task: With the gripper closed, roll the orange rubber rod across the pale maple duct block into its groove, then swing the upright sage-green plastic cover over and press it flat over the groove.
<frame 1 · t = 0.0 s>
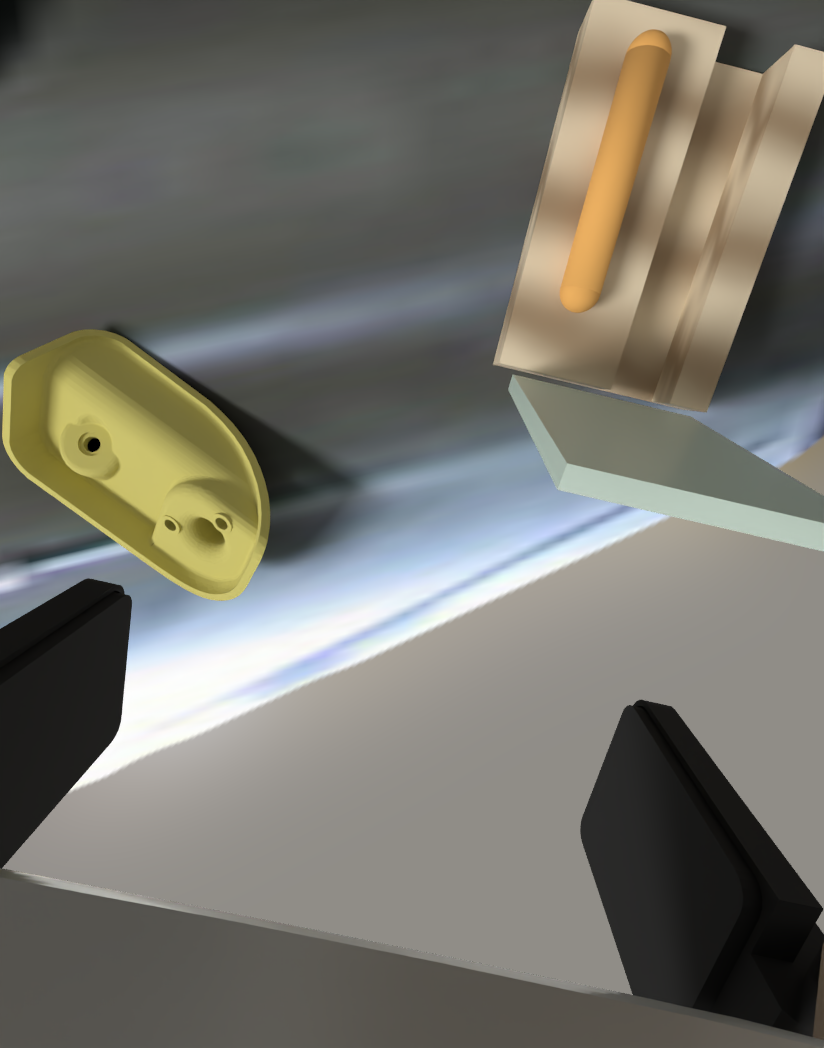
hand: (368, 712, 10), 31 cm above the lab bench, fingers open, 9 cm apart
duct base: (634, 235, 36), on the lab bench
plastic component: (171, 470, 41), on the lab bench
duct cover: (644, 442, 27), point 12 cm above the lab bench, hinge at 100.0°
rod: (605, 188, 32), point 3 cm above the lab bench, touching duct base
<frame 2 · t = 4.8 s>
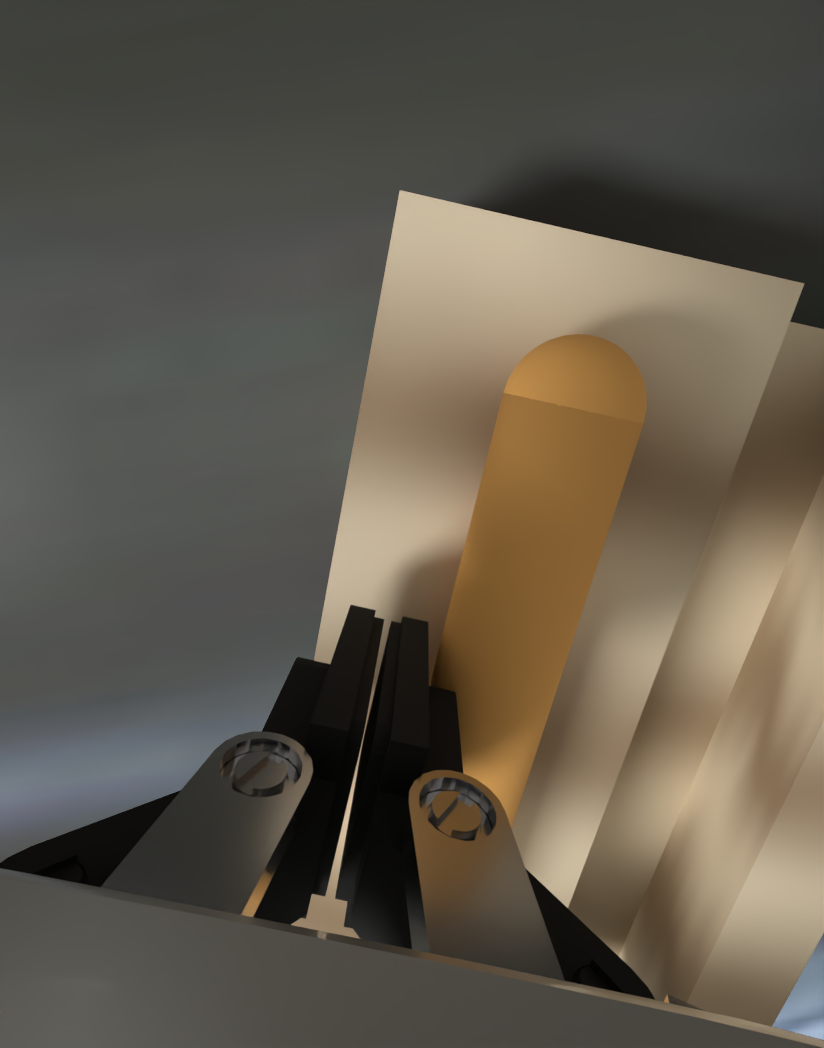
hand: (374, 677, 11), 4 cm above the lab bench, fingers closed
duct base: (570, 661, 16), on the lab bench
rod: (471, 670, 12), point 3 cm above the lab bench, tilted 10°, touching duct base, gripper
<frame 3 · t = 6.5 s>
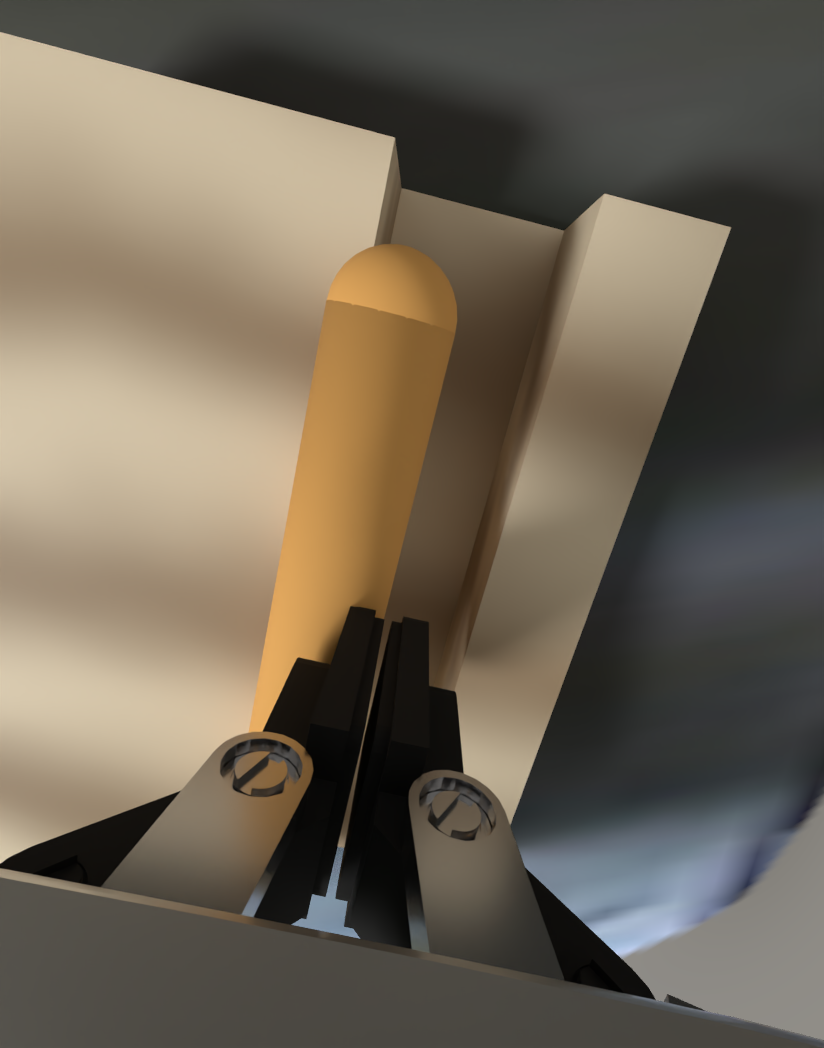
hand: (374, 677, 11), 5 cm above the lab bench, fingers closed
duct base: (310, 560, 16), on the lab bench
rod: (366, 635, 11), point 5 cm above the lab bench, tilted 130°, touching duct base, gripper
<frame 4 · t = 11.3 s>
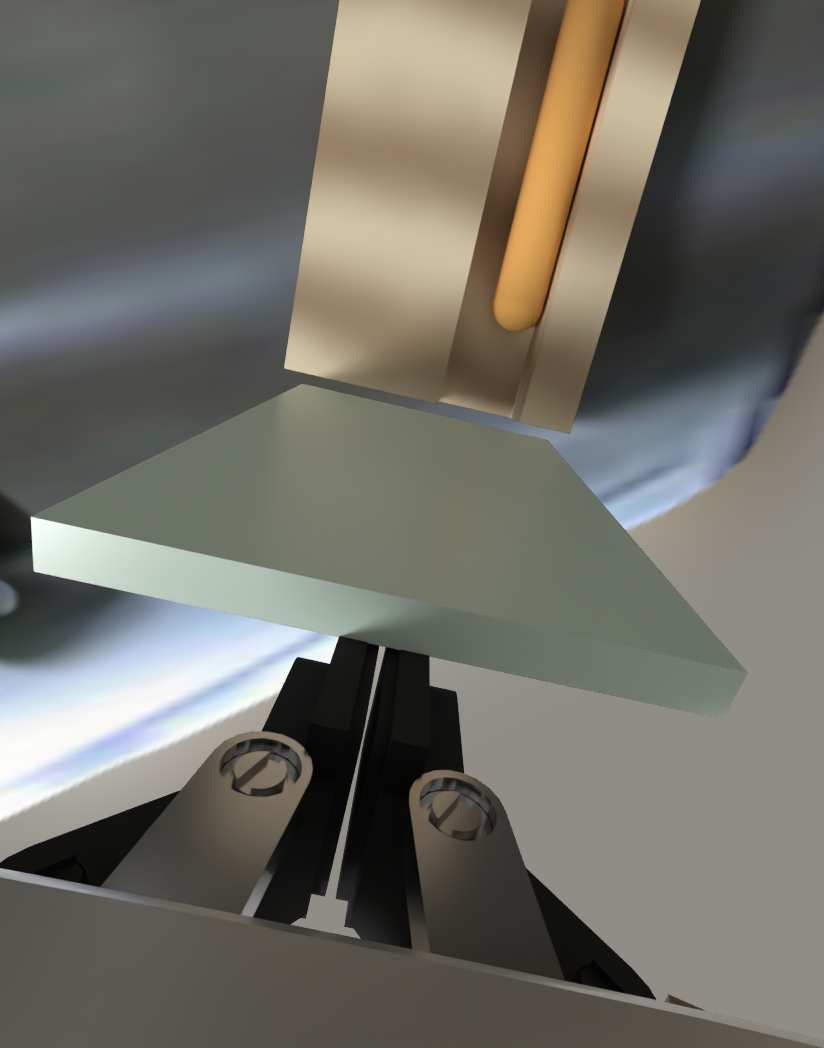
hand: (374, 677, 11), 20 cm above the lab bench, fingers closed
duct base: (474, 194, 26), on the lab bench
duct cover: (415, 473, 17), point 13 cm above the lab bench, hinge at 95.7°, touching gripper
rod: (550, 177, 26), point 1 cm above the lab bench, tilted 6°, touching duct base
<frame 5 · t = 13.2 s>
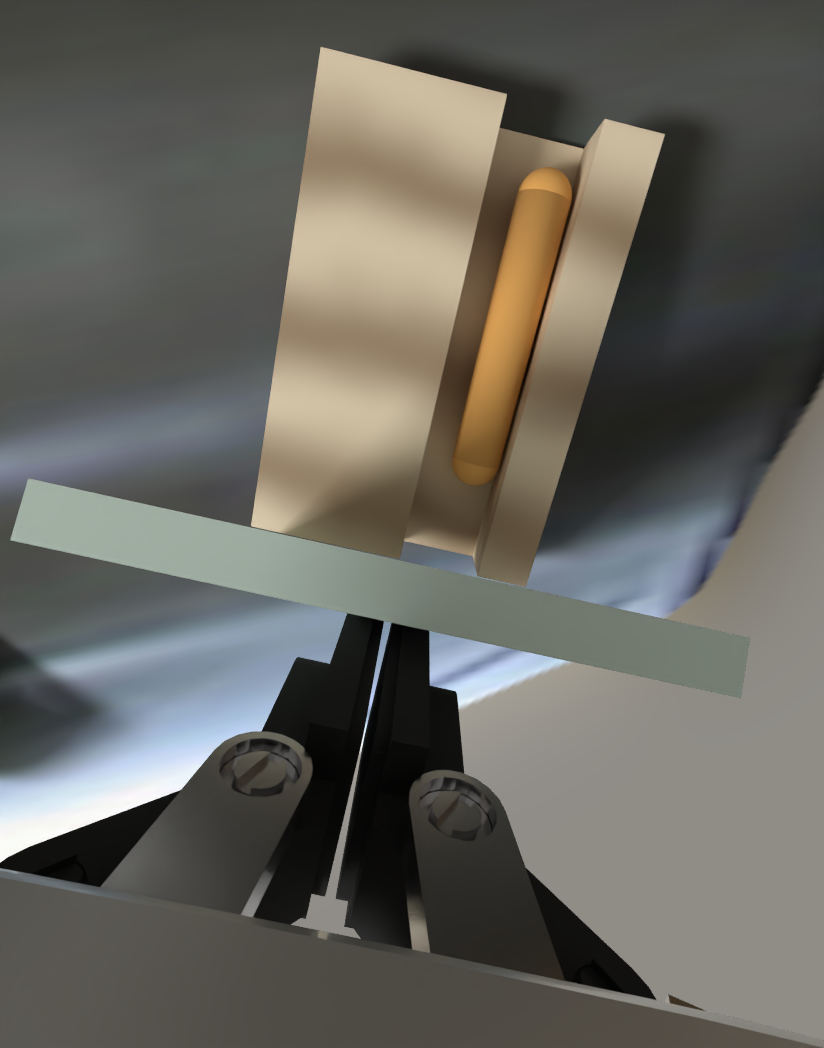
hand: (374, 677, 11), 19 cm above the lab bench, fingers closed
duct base: (435, 353, 27), on the lab bench
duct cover: (386, 580, 18), point 12 cm above the lab bench, hinge at 68.3°, touching gripper
rod: (507, 341, 27), point 1 cm above the lab bench, tilted 8°, touching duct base
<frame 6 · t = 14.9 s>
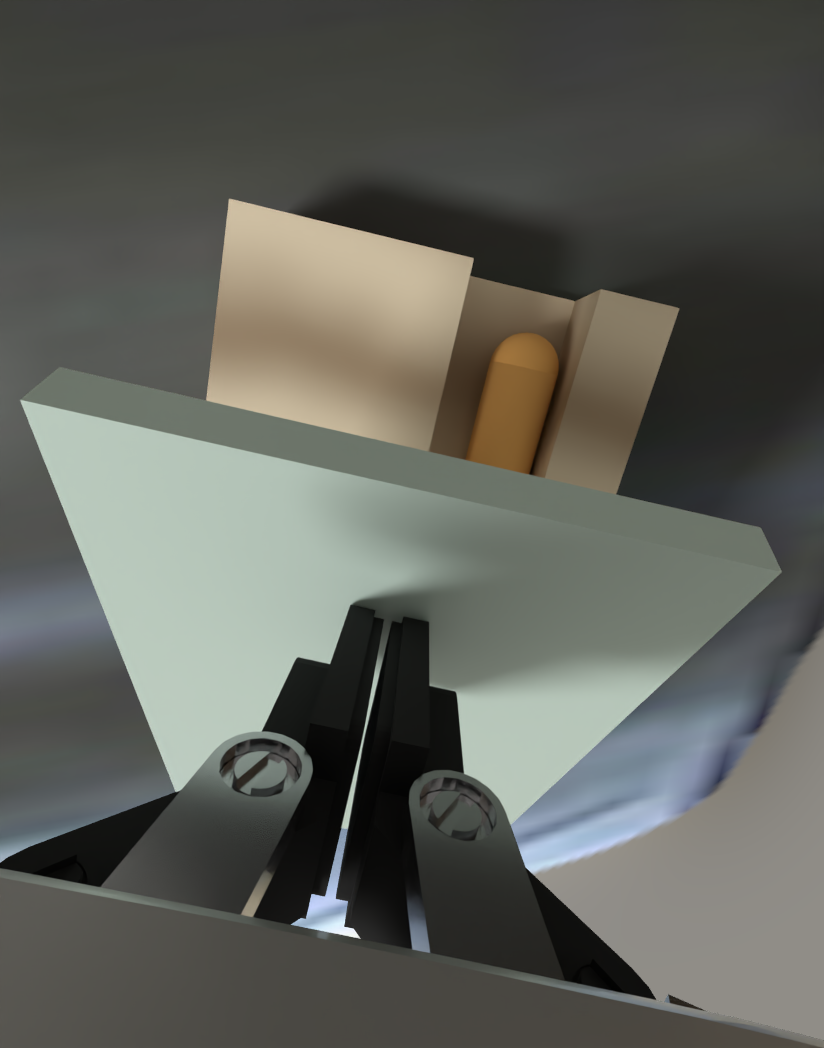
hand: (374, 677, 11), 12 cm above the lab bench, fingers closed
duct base: (394, 529, 22), on the lab bench
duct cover: (355, 712, 15), point 8 cm above the lab bench, hinge at 28.9°, touching gripper
rod: (482, 521, 22), point 1 cm above the lab bench, tilted 10°, touching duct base
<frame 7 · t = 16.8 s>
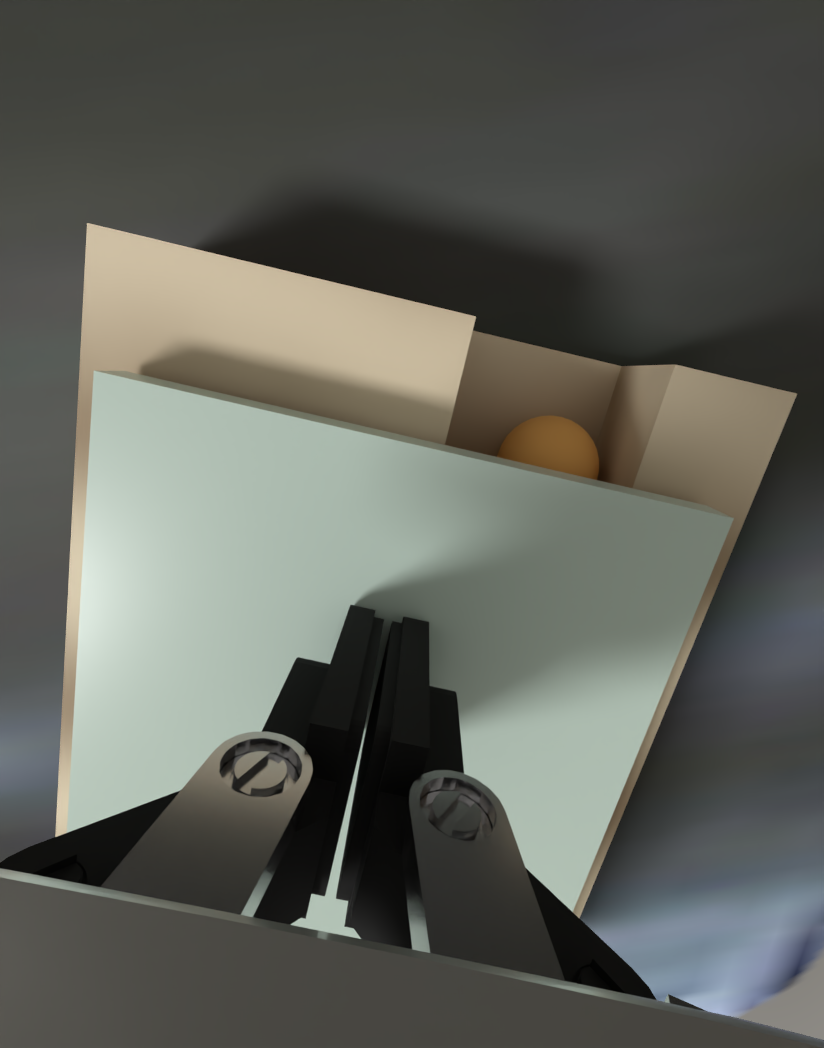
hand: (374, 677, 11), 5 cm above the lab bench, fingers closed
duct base: (367, 665, 16), on the lab bench
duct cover: (335, 813, 13), point 4 cm above the lab bench, hinge at 0.0°, touching gripper
rod: (486, 660, 16), point 1 cm above the lab bench, tilted 11°, touching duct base
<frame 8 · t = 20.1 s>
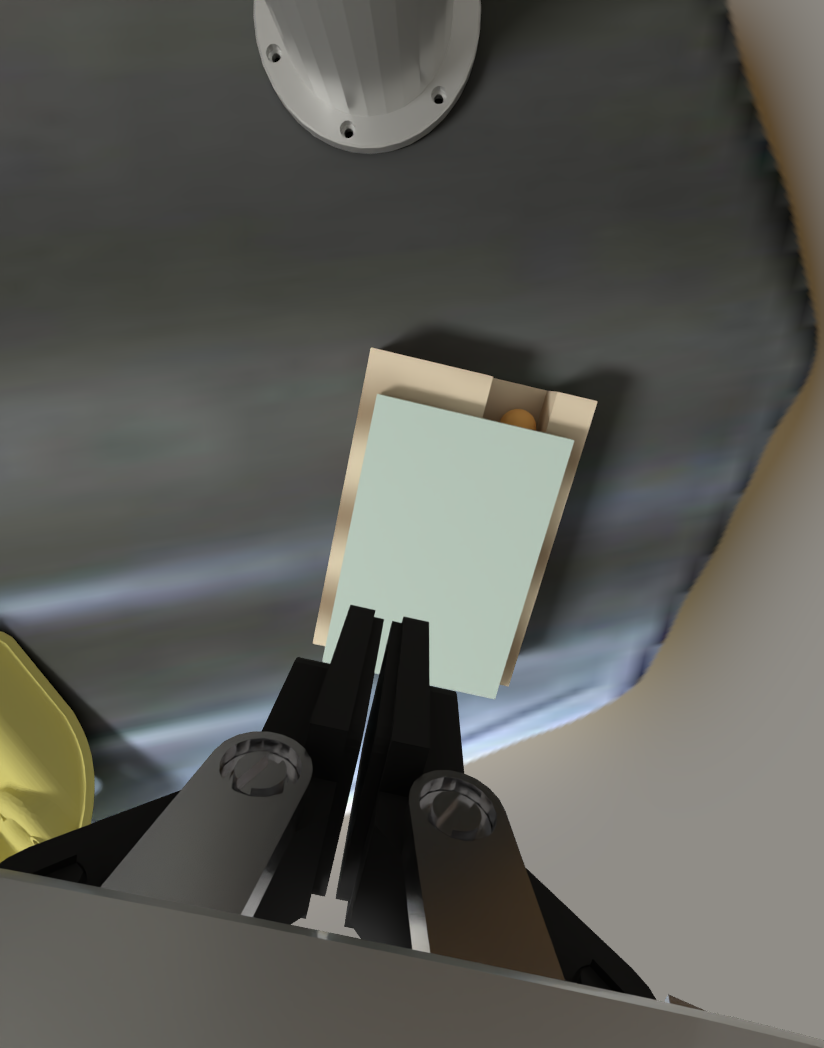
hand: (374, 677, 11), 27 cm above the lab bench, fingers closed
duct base: (443, 517, 38), on the lab bench
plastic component: (22, 739, 45), on the lab bench
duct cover: (440, 555, 34), point 4 cm above the lab bench, hinge at -0.1°
rod: (495, 512, 37), point 1 cm above the lab bench, tilted 14°, touching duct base
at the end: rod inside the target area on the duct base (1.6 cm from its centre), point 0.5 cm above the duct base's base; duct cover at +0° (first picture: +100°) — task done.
